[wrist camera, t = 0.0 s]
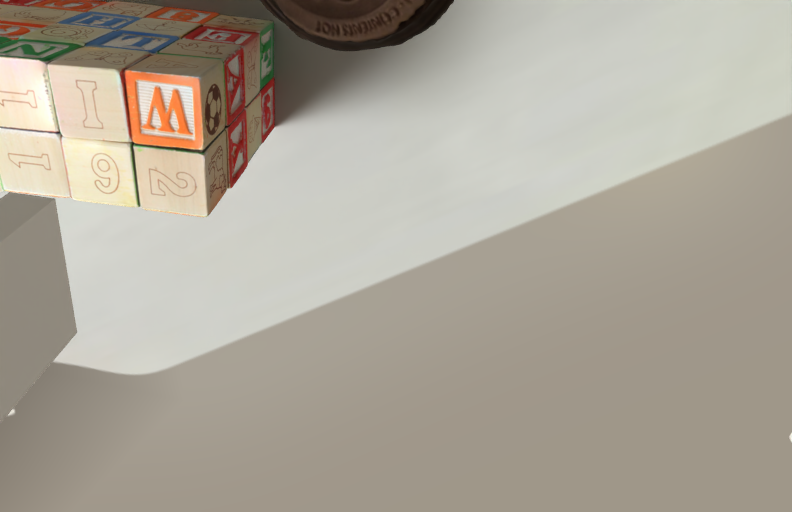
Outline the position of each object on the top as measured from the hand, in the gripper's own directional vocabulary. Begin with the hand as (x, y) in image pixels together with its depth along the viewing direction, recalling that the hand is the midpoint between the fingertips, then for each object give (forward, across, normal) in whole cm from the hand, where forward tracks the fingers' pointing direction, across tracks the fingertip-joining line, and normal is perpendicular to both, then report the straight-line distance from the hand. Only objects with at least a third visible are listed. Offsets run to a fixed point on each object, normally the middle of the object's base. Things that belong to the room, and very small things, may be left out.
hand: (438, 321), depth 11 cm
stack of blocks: (+28, -20, -5) cm, 35 cm away
